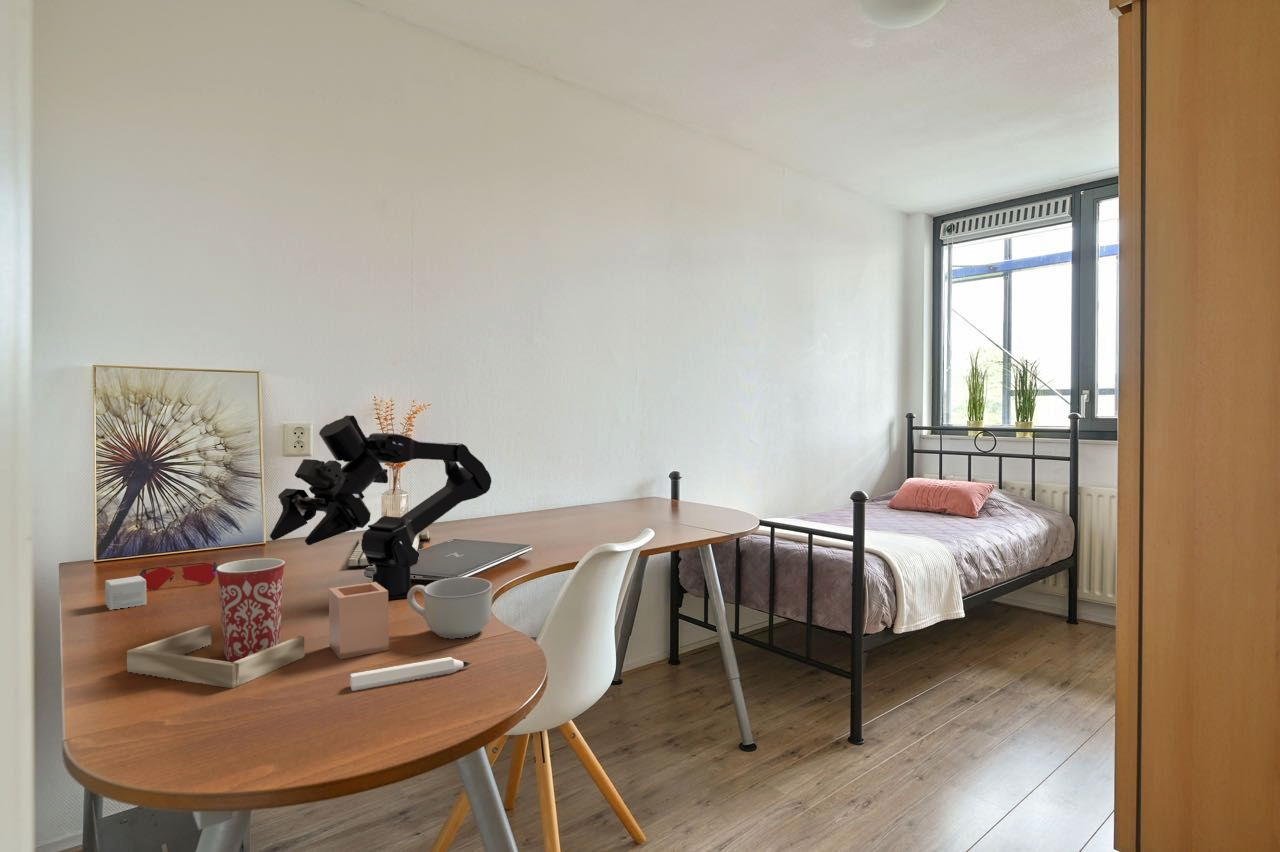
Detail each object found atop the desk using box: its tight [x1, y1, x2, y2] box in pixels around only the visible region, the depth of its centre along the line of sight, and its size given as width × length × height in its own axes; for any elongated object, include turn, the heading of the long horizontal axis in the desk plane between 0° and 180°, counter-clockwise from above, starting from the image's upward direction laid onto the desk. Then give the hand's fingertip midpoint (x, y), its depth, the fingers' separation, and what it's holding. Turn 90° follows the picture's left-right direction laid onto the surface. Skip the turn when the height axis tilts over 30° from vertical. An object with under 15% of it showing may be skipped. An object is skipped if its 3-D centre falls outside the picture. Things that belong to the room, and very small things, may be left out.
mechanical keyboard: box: [346, 529, 431, 571], centre depth 184 cm, size 38×19×3 cm, turn 15°
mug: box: [216, 557, 286, 662], centre depth 110 cm, size 13×9×14 cm
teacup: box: [406, 576, 493, 640], centre depth 118 cm, size 14×11×8 cm
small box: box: [104, 575, 147, 611], centre depth 136 cm, size 6×6×5 cm
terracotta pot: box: [328, 581, 390, 660], centre depth 111 cm, size 7×7×9 cm
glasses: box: [138, 561, 218, 591], centre depth 155 cm, size 14×16×5 cm
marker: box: [349, 656, 473, 692], centre depth 99 cm, size 3×2×16 cm
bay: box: [126, 624, 306, 689], centre depth 104 cm, size 12×19×3 cm, turn 72°
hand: (288, 540), depth 122 cm, fingers open, 9 cm apart
